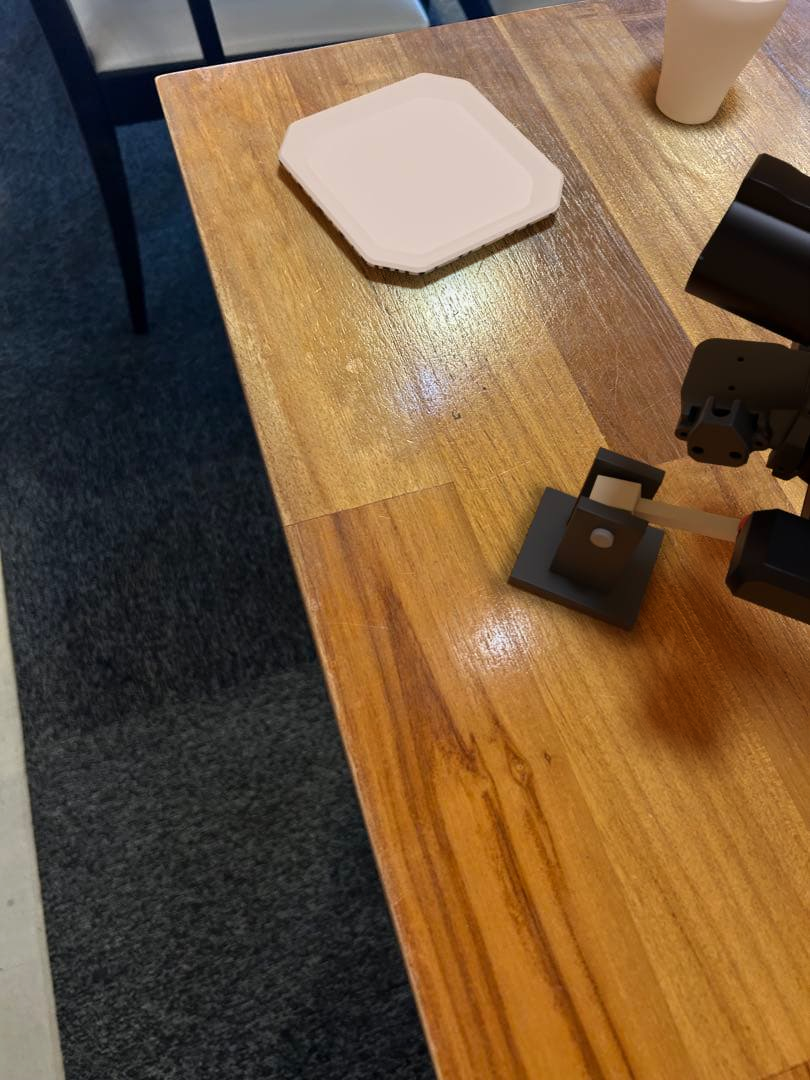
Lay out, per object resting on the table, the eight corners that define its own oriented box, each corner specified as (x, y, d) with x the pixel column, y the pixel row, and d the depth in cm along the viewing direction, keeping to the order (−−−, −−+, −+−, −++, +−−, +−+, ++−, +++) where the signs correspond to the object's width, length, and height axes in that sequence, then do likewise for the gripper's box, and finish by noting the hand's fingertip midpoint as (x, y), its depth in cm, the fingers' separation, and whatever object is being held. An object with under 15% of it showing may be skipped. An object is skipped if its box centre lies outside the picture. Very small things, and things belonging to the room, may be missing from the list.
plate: (581, 213, 84) (587, 193, 82) (388, 305, 78) (389, 286, 76) (446, 80, 92) (449, 59, 90) (259, 153, 85) (258, 132, 83)
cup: (621, 122, 91) (664, -19, 79) (645, 58, 95) (690, -84, 84) (728, 153, 89) (788, 16, 78) (748, 87, 94) (807, -52, 82)
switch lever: (788, 536, 59) (796, 507, 56) (778, 575, 57) (786, 548, 55) (600, 494, 63) (599, 466, 61) (586, 530, 62) (585, 503, 59)
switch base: (660, 539, 69) (707, 465, 60) (630, 632, 65) (675, 568, 57) (543, 494, 70) (573, 415, 62) (507, 583, 66) (533, 513, 58)
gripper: (769, 187, 49) (674, 377, 63) (677, 463, 40) (591, 614, 54) (986, 258, 48) (841, 437, 61) (939, 561, 39) (782, 690, 53)
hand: (763, 535), depth 57 cm, fingers open, 9 cm apart
